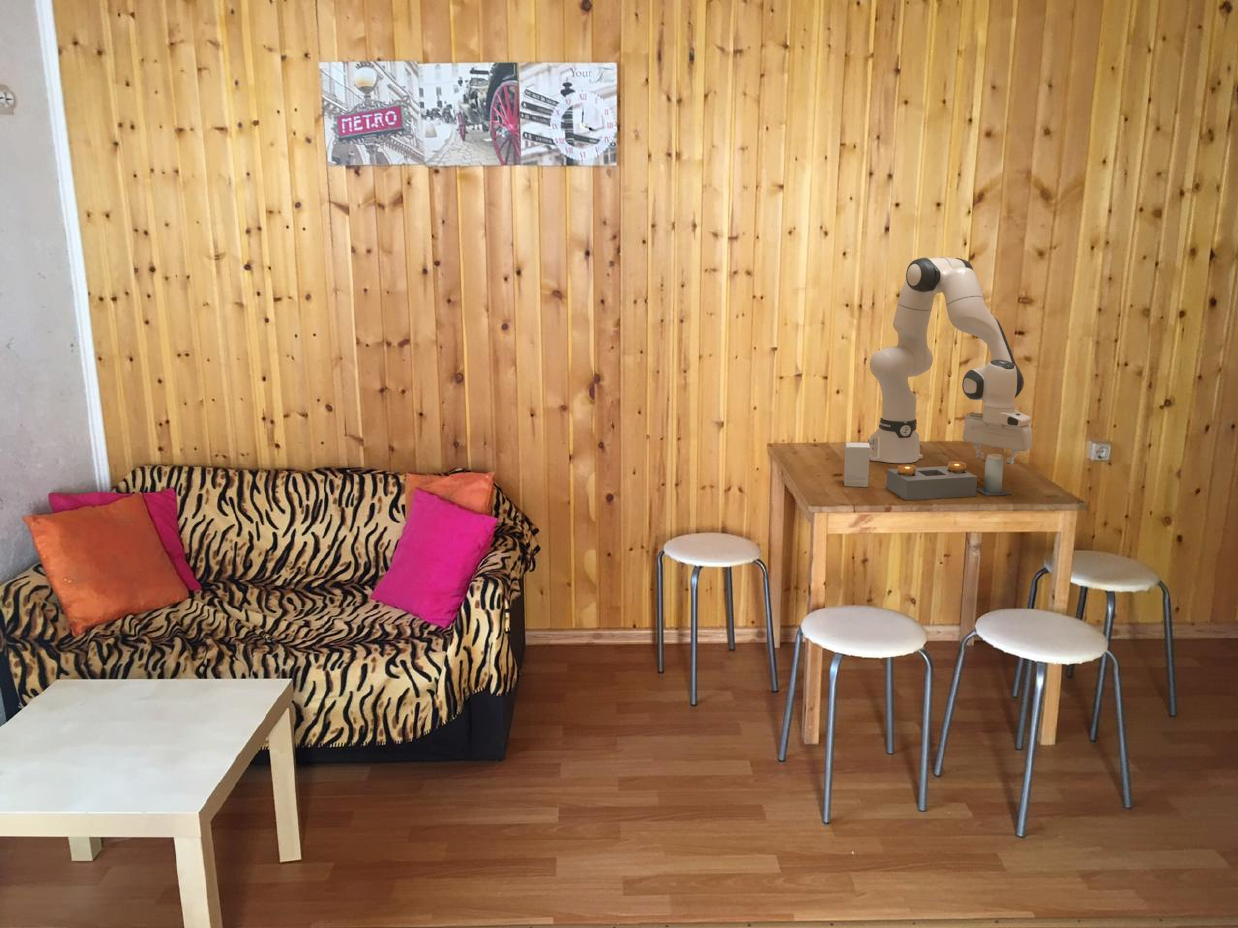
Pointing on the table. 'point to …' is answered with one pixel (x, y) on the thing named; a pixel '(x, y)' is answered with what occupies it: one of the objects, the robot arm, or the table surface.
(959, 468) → the plunger
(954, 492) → the block
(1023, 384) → the robot arm
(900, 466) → the plunger
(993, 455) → the block
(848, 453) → the supplement box
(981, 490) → the mat
